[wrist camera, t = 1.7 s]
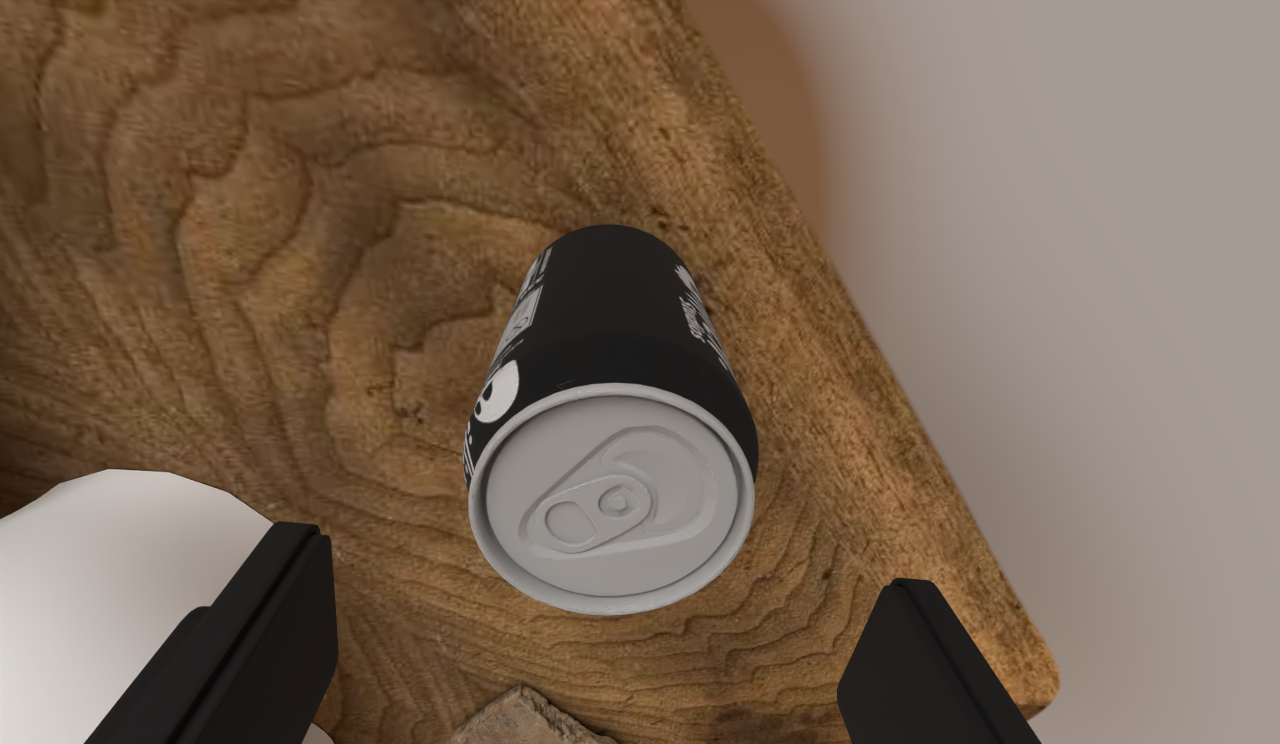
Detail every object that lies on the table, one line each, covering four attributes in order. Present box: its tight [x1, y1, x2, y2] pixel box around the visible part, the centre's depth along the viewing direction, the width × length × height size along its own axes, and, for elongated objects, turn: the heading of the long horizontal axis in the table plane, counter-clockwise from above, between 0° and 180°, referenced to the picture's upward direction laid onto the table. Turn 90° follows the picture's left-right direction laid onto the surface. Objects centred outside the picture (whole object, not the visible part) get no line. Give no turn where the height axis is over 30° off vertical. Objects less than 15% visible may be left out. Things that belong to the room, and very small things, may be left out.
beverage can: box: [463, 225, 758, 616], centre depth 17 cm, size 7×7×12 cm
